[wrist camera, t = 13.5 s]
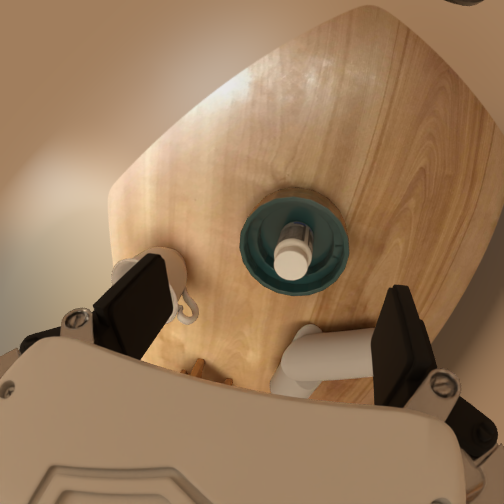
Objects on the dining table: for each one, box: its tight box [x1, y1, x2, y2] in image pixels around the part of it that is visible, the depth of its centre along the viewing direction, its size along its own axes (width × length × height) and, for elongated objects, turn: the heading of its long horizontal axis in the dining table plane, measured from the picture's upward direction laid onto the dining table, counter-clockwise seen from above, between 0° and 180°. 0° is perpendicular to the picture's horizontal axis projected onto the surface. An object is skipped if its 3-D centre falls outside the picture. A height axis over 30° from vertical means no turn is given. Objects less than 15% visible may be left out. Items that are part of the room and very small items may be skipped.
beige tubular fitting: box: [270, 324, 375, 399], centre depth 45 cm, size 18×11×20 cm
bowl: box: [239, 187, 349, 296], centre depth 38 cm, size 14×14×5 cm
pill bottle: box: [274, 221, 314, 280], centre depth 36 cm, size 5×5×8 cm
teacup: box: [112, 247, 199, 325], centre depth 44 cm, size 12×15×10 cm
